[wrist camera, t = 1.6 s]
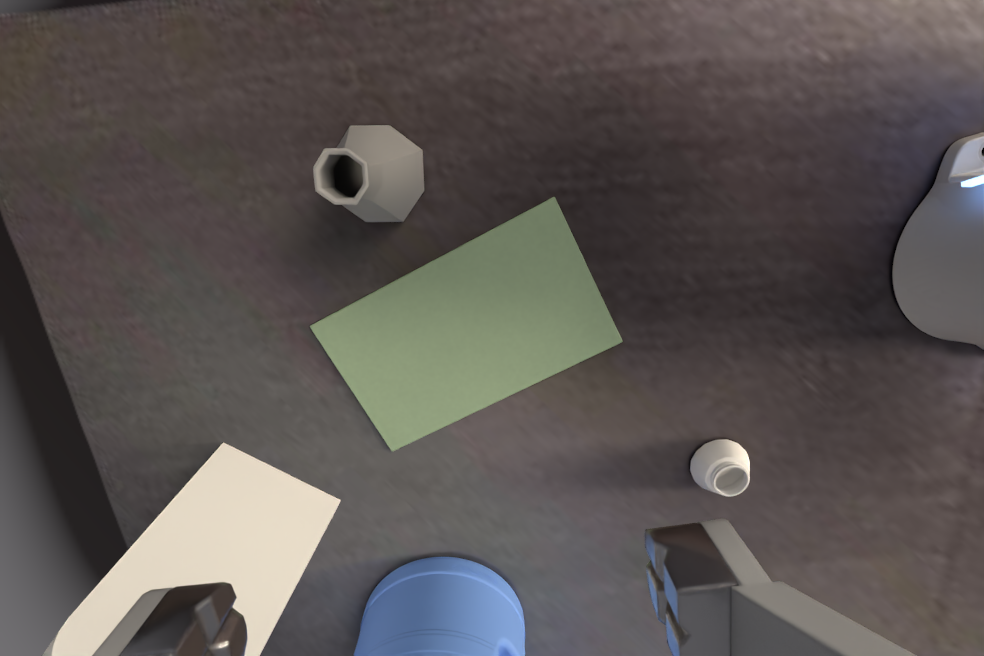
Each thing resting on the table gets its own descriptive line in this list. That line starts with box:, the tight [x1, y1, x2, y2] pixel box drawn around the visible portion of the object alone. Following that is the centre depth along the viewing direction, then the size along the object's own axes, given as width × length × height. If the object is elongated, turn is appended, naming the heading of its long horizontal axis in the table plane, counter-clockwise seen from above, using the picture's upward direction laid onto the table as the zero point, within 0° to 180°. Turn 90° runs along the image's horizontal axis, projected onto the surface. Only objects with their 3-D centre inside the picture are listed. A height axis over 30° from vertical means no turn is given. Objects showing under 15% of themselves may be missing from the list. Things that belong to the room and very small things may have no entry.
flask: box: [313, 125, 424, 222], centre depth 33 cm, size 7×7×10 cm
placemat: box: [310, 197, 623, 451], centre depth 41 cm, size 22×13×1 cm, turn 118°
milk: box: [42, 443, 341, 656], centre depth 35 cm, size 12×12×26 cm
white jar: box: [690, 439, 750, 497], centre depth 44 cm, size 5×3×5 cm
